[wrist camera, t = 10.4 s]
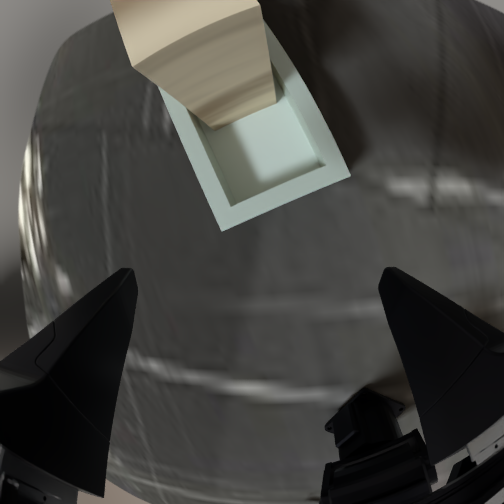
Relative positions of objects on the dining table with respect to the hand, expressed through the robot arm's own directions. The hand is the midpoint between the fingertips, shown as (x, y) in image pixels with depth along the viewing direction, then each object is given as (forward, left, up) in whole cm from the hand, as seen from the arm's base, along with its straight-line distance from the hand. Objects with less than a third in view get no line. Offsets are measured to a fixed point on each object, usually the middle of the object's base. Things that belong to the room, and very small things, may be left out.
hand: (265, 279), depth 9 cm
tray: (+9, -8, -12) cm, 17 cm away
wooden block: (+9, -8, -11) cm, 16 cm away
